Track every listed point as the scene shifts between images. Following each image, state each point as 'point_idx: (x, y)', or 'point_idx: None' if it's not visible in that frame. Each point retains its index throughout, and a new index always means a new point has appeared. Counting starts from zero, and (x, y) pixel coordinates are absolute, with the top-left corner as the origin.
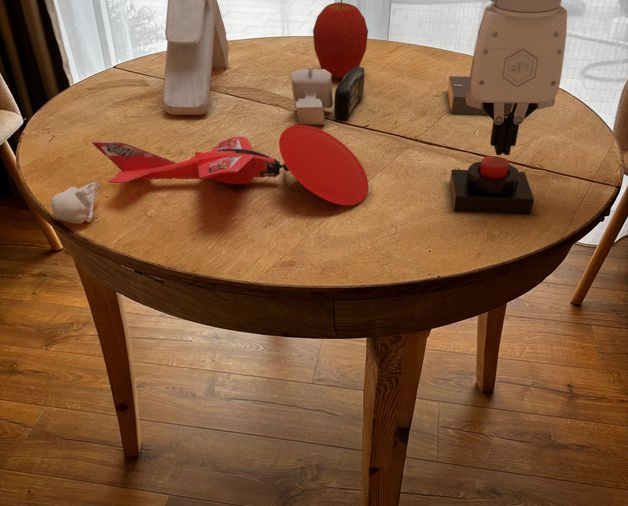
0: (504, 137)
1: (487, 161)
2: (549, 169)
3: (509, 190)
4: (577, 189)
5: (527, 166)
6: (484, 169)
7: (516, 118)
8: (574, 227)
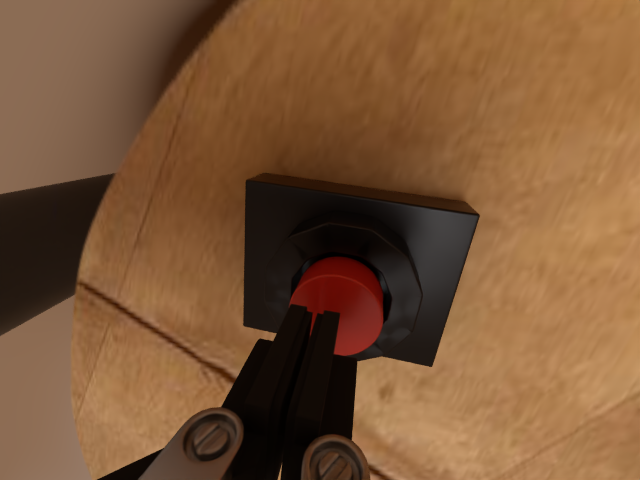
0: (306, 361)
1: (361, 323)
2: (189, 360)
3: (306, 222)
4: (145, 277)
5: (230, 378)
6: (378, 291)
7: (218, 452)
8: (169, 101)
